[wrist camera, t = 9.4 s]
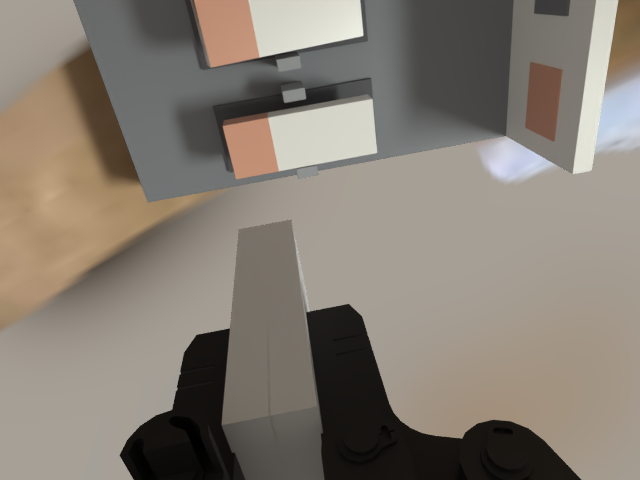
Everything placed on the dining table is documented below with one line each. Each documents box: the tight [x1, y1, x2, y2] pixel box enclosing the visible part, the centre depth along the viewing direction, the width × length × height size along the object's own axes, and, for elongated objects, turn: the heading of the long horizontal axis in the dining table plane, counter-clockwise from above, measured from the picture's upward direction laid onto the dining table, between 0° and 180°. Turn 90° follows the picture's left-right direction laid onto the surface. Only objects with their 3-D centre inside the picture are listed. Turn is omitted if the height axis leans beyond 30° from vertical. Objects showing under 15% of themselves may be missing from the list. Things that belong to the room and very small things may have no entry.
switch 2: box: [223, 94, 377, 179], centre depth 25 cm, size 8×3×1 cm, turn 98°
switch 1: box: [191, 0, 363, 68], centre depth 22 cm, size 8×3×1 cm, turn 98°
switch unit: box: [74, 0, 618, 202], centre depth 23 cm, size 24×18×10 cm
